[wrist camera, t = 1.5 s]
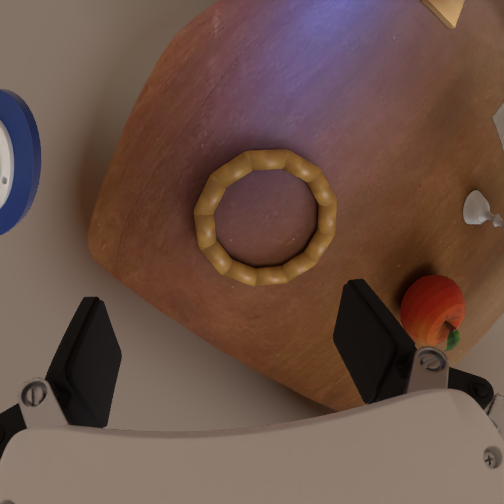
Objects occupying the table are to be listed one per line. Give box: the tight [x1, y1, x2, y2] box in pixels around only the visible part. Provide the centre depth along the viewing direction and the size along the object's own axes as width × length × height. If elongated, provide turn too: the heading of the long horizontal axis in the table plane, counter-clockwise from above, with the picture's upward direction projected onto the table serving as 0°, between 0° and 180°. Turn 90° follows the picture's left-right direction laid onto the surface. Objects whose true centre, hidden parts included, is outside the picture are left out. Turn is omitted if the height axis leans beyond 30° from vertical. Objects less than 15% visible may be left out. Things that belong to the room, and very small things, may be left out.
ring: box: [194, 149, 337, 286], centre depth 27 cm, size 14×14×2 cm
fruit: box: [400, 275, 465, 351], centre depth 32 cm, size 10×10×10 cm
